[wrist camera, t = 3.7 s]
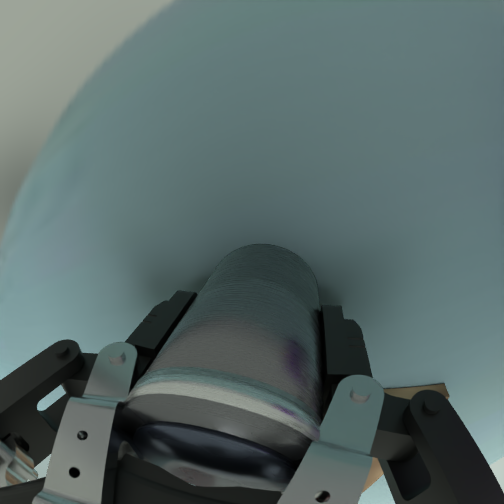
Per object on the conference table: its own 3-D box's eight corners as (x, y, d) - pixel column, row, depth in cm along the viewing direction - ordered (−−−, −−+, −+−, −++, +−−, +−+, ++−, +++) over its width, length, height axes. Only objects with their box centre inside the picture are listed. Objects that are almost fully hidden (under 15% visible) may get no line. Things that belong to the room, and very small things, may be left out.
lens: (325, 247, 11) (354, 435, 3) (312, 342, 12) (304, 505, 5) (207, 239, 11) (79, 379, 4) (213, 331, 13) (146, 474, 6)
